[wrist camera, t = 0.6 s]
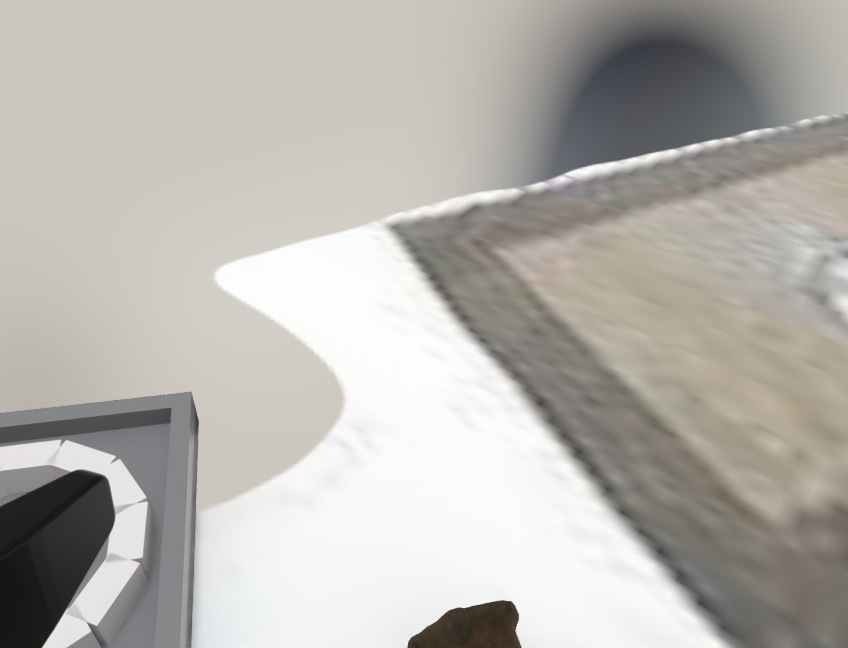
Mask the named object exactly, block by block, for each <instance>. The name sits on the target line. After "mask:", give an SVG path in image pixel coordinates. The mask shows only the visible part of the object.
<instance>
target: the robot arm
mask: <svg viewBox="0 0 848 648" xmlns="http://www.w3.org/2000/svg"><path fill="white" fill-rule="evenodd" d="M114 523H115V508H114V503H113V498H112V493H111V488H110V483H109V480H108V478H107V477H106V476H105V475H102V474H99V473H95V472H92V471H88V470H83V469H78V470H75V471H72V472H70V473H68V474H66V475H64V476H61V477H59V478H57V479H55V480H53V481H51V482H49V483H47V484H45V485H43V486H41V487H39V488H37V489H35V490H33V491H31V492H28V493H26V494H24V495H22V496H20V497H18V498H16V499H14V500H12V501H10V502H8V503H6V504H4V505H2V506H0V648H42V647H43V646H44V644H45V643H46V641H47V640H48V638H49V637H50V635H51V634H52V632H53V631H54V629H55V628H56V626H57V624H58V623H59V621H60V620H61V618H62V616H63V615H64V613H65V611H66V610H67V608H68V606H69V604H70V603H71V601H72V599H73V597H74V596H75V594H76V592H77V590H78V589H79V587H80V585H81V583H82V582H83V580H84V578H85V577H86V575H87V573H88V571H89V570H90V568H91V566H92V564H93V563H94V561H95V559H96V557H97V556H98V554H99V552H100V550H101V549H102V547H103V545H104V544H105V542H106V540H107V538H108V537H109V535H110V533H111V531H112V529H113V526H114Z"/></svg>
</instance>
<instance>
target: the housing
mask: <svg viewBox="0 0 848 648" xmlns="http://www.w3.org/2000/svg"><path fill="white" fill-rule="evenodd" d="M198 425H199V421H198V417H197V413H196V408H195V405H194V400H193V396H192V392H185V393H176V394H168V395H158V396H151V397H141V398H132V399H123V400H114V401H105V402H96V403H87V404H78V405H70V406H61V407H52V408H42V409H33V410H24V411H15V412H7V413H0V506H2V505H4V504H6V503H8V502H10V501H12V500H14V499H16V498H18V497H20V496H22V495H24V494H26V493H28V492H31V491H33V490H35V489H37V488H39V487H41V486H43V485H45V484H47V483H49V482H51V481H53V480H55V479H57V478H59V477H61V476H64V475H66V474H68V473H70V472H72V471H75V470H78V469H83V470H88V471H92V472H95V473H99V474H102V475H105V476H106V477H107V478H108V480H109V483H110V488H111V493H112V498H113V503H114V508H115V523H114V526H113V529H112V531H111V533H110V535H109V537H108V538H107V540H106V542H105V544H104V545H103V547H102V549H101V550H100V552H99V554H98V556H97V557H96V559H95V561H94V563H93V564H92V566H91V568H90V570H89V571H88V573H87V575H86V577H85V578H84V580H83V582H82V583H81V585H80V587H79V589H78V590H77V592H76V594H75V596H74V597H73V599H72V601H71V603H70V604H69V606H68V608H67V610H66V611H65V613H64V615H63V616H62V618H61V620H60V621H59V623H58V624H57V626H56V628H55V629H54V631H53V632H52V634H51V635H50V637H49V638H48V640H47V641H46V643H45V644H44V646H43V647H42V648H191V632H192V603H193V573H194V543H195V514H196V483H197V454H198Z"/></svg>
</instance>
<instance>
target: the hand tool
mask: <svg viewBox="0 0 848 648" xmlns="http://www.w3.org/2000/svg"><path fill="white" fill-rule="evenodd" d="M518 621H519V614H518V612H517V609H516V607H515V605H514V604H513V603H512V602H511V601H504V600H502V601H495V602H490V603H485V604H481V605H476V606H471V607H468V608H455V609H452V610H449V611H448V612H446V613H445V614H444V615H443V616H442V617H441V618H440V619H439V620H438V621H437V622H435V623H433V624H432V625H430V626H428V627H426V628H425V629H424V630H423V631H422V632H420V633H419V634H417V635H415V636H413V637H411V639H410V640H409V642H408V648H521V645H520V643H519V640H518V637H517V634H516V631H515V630H516V626H517V623H518Z"/></svg>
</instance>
